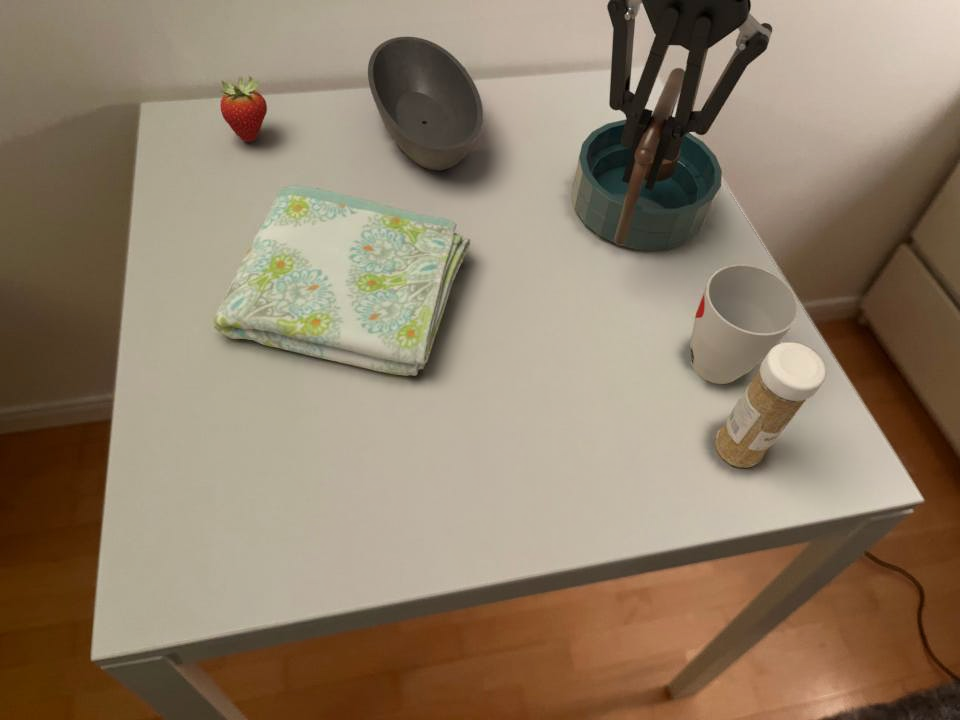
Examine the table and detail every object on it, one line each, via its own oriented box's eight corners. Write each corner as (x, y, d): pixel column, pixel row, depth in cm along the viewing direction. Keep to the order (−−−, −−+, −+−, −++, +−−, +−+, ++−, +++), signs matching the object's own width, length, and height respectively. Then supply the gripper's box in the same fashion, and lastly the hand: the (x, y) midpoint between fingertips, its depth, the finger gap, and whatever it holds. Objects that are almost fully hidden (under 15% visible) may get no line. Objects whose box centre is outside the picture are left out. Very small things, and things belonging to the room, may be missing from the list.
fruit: (270, 123, 90) (258, 64, 84) (275, 151, 87) (263, 92, 81) (227, 128, 89) (211, 68, 83) (231, 156, 86) (215, 97, 80)
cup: (708, 318, 76) (741, 250, 68) (773, 367, 73) (816, 302, 65) (658, 359, 73) (688, 293, 65) (724, 412, 70) (764, 350, 62)
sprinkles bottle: (758, 476, 66) (825, 396, 55) (708, 458, 67) (764, 376, 56) (765, 435, 69) (830, 350, 58) (717, 418, 69) (772, 332, 58)
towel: (428, 387, 69) (428, 355, 65) (215, 339, 71) (201, 306, 67) (471, 251, 80) (474, 216, 76) (285, 212, 82) (277, 176, 77)
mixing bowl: (731, 234, 84) (749, 194, 79) (611, 268, 80) (623, 228, 75) (660, 149, 92) (673, 108, 87) (548, 176, 88) (555, 135, 83)
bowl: (444, 74, 98) (445, 30, 93) (500, 183, 86) (505, 139, 81) (355, 88, 95) (351, 43, 90) (400, 202, 84) (398, 158, 78)
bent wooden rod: (642, 256, 73) (672, 162, 63) (592, 240, 74) (614, 145, 64) (679, 158, 82) (711, 62, 72) (634, 145, 83) (660, 48, 73)
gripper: (828, -77, 53) (721, 176, 72) (633, -123, 56) (580, 133, 75) (815, -30, 49) (705, 225, 68) (605, -82, 52) (557, 178, 71)
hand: (640, 177), depth 72 cm, fingers closed on bent wooden rod, 2 cm apart
